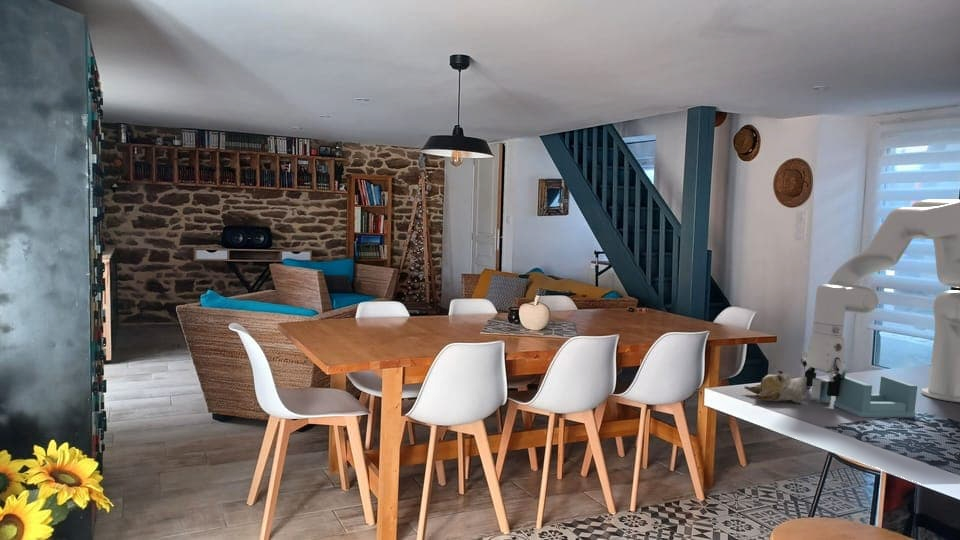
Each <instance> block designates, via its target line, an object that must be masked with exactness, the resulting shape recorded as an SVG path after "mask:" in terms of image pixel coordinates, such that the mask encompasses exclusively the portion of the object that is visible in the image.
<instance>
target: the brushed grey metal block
mask: <svg viewBox="0 0 960 540" xmlns="http://www.w3.org/2000/svg"><path fill="white" fill-rule="evenodd" d="M828 381H830V379H827V378H821V377H820V378H817V377H816V378H813V382H812V387H811V392H810V393H811V394H810V395H811V396H810V400H811V399H812V400H811V401H813V400H814V401H813V402H816V403H818V402H819V403H818V404H831V401H832V396H828V395H827V387H828Z"/></svg>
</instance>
